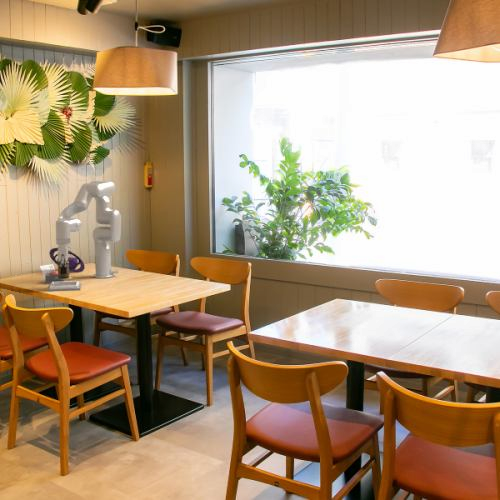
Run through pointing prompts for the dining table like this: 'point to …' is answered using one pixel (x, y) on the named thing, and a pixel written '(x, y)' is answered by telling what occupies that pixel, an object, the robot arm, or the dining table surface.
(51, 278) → the button housing
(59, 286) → the tray
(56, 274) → the button
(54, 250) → the decorative bottle
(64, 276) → the condiment
